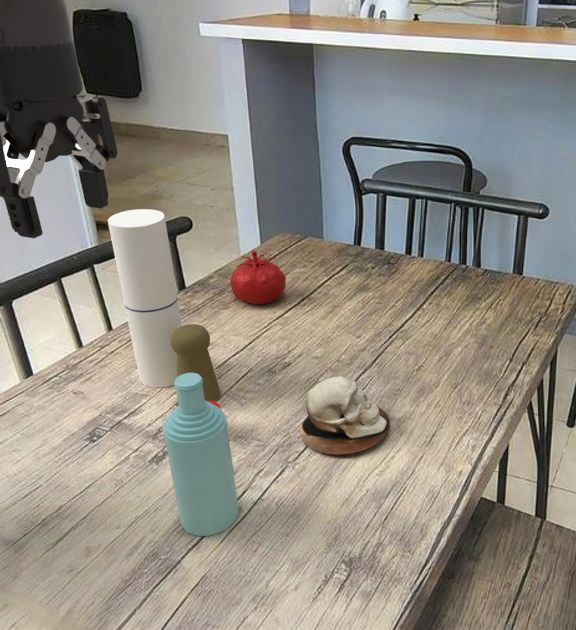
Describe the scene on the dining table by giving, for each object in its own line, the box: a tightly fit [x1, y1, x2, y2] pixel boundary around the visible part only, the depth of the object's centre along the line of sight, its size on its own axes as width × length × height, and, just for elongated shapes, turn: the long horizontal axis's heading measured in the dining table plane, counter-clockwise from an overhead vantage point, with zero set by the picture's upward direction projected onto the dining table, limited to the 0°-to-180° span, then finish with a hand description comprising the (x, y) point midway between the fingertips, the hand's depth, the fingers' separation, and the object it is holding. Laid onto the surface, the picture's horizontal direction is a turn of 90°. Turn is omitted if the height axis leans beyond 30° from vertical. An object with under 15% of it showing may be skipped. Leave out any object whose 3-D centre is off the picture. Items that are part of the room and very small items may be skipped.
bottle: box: [162, 373, 240, 537], centre depth 73 cm, size 6×6×18 cm
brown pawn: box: [171, 323, 222, 402], centre depth 96 cm, size 6×6×11 cm
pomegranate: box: [230, 250, 287, 305], centre depth 125 cm, size 10×10×9 cm
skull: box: [299, 375, 391, 455], centre depth 92 cm, size 12×10×10 cm
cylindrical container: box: [107, 208, 183, 389], centre depth 97 cm, size 7×7×25 cm
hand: (65, 220), depth 65 cm, fingers open, 8 cm apart
